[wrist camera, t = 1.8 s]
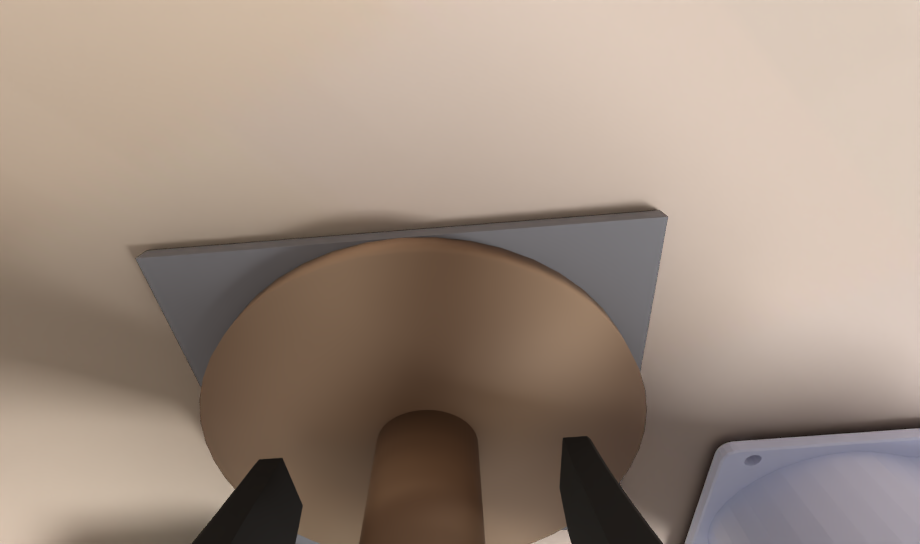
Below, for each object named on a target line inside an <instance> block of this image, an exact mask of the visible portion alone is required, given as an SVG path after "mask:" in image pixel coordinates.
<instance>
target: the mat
mask: <svg viewBox="0 0 920 544" xmlns="http://www.w3.org/2000/svg"><path fill="white" fill-rule="evenodd" d="M667 220H668V216H667V215H665V214H664V213H663V212H662V211H660V210H657V211H644V212H631V213H619V214H606V215H593V216H580V217H568V218H555V219H542V220H529V221H517V222H504V223H491V224H479V225H466V226H453V227H440V228H428V229H415V230H402V231H389V232H377V233H364V234H351V235H338V236H326V237H313V238H300V239H288V240H275V241H262V242H249V243H237V244H224V245H211V246H198V247H186V248H173V249H160V250H148V251H145V252H144V253H142V254H141V255H140V256H138V257H137V258H135V259H136V261H137V262H138V264H139V266H140V268H141V270H142V272H143V274H144V276H145V278H146V280H147V282H148V284H149V286H150V288H151V290H152V292H153V294H154V296H155V298H156V300H157V302H158V304H159V306H160V308H161V310H162V312H163V314H164V316H165V318H166V319H167V321H168V323H169V325H170V327H171V329H172V331H173V333H174V335H175V337H176V339H177V341H178V343H179V345H180V347H181V349H182V351H183V353H184V355H185V357H186V359H187V361H188V363H189V365H190V367H191V369H192V371H193V373H194V375H195V377H196V378H197V380H198V382H199V384H200V386H201V387H202V380H203V377H204V374H205V371H206V368H207V366H208V363H209V360H210V357H211V356H212V354H213V352H214V351H215V349H216V347H217V346H218V344H219V342H220V341H221V339H222V337H223V336H224V334H225V333H226V332H227V330H228V329H229V328H230V326H231V325H232V324H233V322H234V321H235V320H236V318H237V317H238V316H239V315H240V313H241V312H242V311H243V310H244V309H245V308H246V307H247V305H248V304H249V303H250V302H251V301H252V300H253V299H254V298H255V296H257V295H258V294H259V293H260V292H262V291H263V290H264V289H265V288H267V287H268V286H269V285H270V284H271V283H273V282H274V281H275V280H276V279H278V278H279V277H281V276H283V275H285V274H286V273H288V272H290V271H291V270H293V269H295V268H296V267H298V266H300V265H302V264H303V263H306V262H308V261H311V260H313V259H315V258H318V257H320V256H323V255H325V254H327V253H330V252H332V251H336V250H339V249H343V248H347V247H351V246H354V245H358V244H362V243H366V242H373V241H380V240H387V239H394V238H415V237H438V238H448V239H458V240H468V241H473V242H477V243H482V244H486V245H491V246H495V247H500V248H503V249H506V250H509V251H512V252H514V253H517V254H520V255H523V256H526V257H528V258H531V259H534V260H535V261H537V262H539V263H541V264H543V265H545V266H547V267H549V268H551V269H553V270H555V271H557V272H559V273H560V274H562V275H563V276H565V277H566V278H568V279H569V280H570V281H572V282H573V283H575V284H576V285H577V286H579V287H580V288H582V289H583V290H584V291H585V292H586V293H587V294H588V295H589V296H590V297H591V298H592V299H593V300H594V301H596V302H597V303H598V304H599V305H600V306H601V307H602V308H603V310H604V311H605V312H606V314H607V315H608V316H609V318H610V319H611V320H612V322H613V323H614V324H615V326H616V327H617V329H618V330H619V332H620V334H621V335H622V337H623V339H624V341H625V342H626V344H627V346H628V348H629V350H630V352H631V354H632V356H633V358H634V360H635V362H636V364H637V366H638V368H639V370H641V364H642V359H643V353H644V348H645V342H646V337H647V331H648V325H649V320H650V314H651V309H652V303H653V298H654V292H655V286H656V281H657V275H658V270H659V264H660V259H661V253H662V248H663V242H664V236H665V231H666V225H667ZM619 484H620V482H619ZM561 530H567V527H565V528H563V529H561ZM295 544H320V543H317V542H315V541H312V540H310V539H308V538H305V537H303V536H301V535H299V534H297V538H296V543H295Z"/></svg>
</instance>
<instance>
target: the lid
mask: <svg viewBox="0 0 920 544" xmlns="http://www.w3.org/2000/svg"><path fill="white" fill-rule="evenodd" d="M646 412H647V409H646V396H645V388H644V385H643V381H642V377H641V374H640V370H639V368H638V366H637V364H636V362H635V360H634V358H633V356H632V354H631V352H630V350H629V348H628V346H627V344H626V342H625V341H624V339H623V337H622V335H621V334H620V332H619V330H618V329H617V327H616V326H615V324H614V323H613V322H612V320H611V319H610V318H609V316H608V315H607V314H606V312H605V311H604V310H603V308H602V307H601V306H600V305H599V304H598V303H597V302H596V301H594V300H593V299H592V298H591V297H590V296H589V295H588V294H587V293H586V292H585V291H584V290H583V289H582V288H580V287H579V286H577V285H576V284H575V283H573V282H572V281H570V280H569V279H568V278H566V277H565V276H563V275H562V274H560V273H559V272H557V271H555V270H553V269H551V268H549V267H547V266H545V265H543V264H541V263H539V262H537V261H535V260H534V259H531V258H528V257H526V256H523V255H520V254H517V253H514V252H512V251H509V250H506V249H503V248H500V247H495V246H491V245H486V244H482V243H477V242H473V241H468V240H458V239H448V238H438V237H415V238H394V239H387V240H380V241H373V242H366V243H362V244H358V245H354V246H351V247H347V248H343V249H339V250H336V251H332V252H330V253H327V254H325V255H323V256H320V257H318V258H315V259H313V260H311V261H308V262H306V263H303V264H302V265H300V266H298V267H296V268H295V269H293V270H291V271H290V272H288V273H286V274H285V275H283V276H281V277H279V278H278V279H276V280H275V281H274V282H273V283H271V284H270V285H269V286H268V287H267V288H265V289H264V290H263V291H262V292H260V293H259V294H258V295H257V296H255V298H254V299H253V300H252V301H251V302H250V303H249V304H248V305H247V307H246V308H245V309H244V310H243V311H242V312H241V313H240V315H239V316H238V317H237V318H236V320H235V321H234V322H233V324H232V325H231V326H230V328H229V329H228V330H227V332H226V333H225V334H224V336H223V337H222V339H221V341H220V342H219V344H218V346H217V347H216V349H215V351H214V352H213V354H212V356H211V357H210V360H209V363H208V366H207V368H206V371H205V374H204V377H203V380H202V387H201V394H200V419H201V425H202V429H203V433H204V437H205V441H206V444H207V446H208V448H209V450H210V453H211V455H212V457H213V459H214V461H215V463H216V464H217V466H218V467H219V469H220V470H221V472H222V473H223V475H224V477H225V478H226V479H227V480H228V482H229V483H230V484H231V485H232V486H233V487H234V488H235V489H236V488H237V486H238V485H239V484H240V482H241V481H242V480H243V479H244V477H245V476H246V475H247V474H248V472H249V471H250V470H251V468H252V467H253V466H254V465H255V463H256V462H257V461H258V460H259V459H271V458H283V460H284V462H285V465H286V467H287V469H288V472H289V474H290V476H291V479H292V481H293V483H294V486H295V488H296V491H297V493H298V495H299V498H300V500H301V502H302V505H303V508H302V513H301V518H300V524H299V529H298V534H299V535H301V536H303V537H305V538H308V539H310V540H312V541H315V542H317V543H320V544H530V543H533V542H536V541H538V540H540V539H543V538H545V537H547V536H550V535H552V534H554V533H556V532H558V531H559V530H561V529H563V528H565V527H567V524H566V519H565V514H564V509H563V504H562V499H561V494H560V488H559V485H560V470H561V456H562V441H563V438H564V437H578V436H588V437H589V438H590V439H591V440H592V442H593V444H594V446H595V447H596V449H597V451H598V452H599V454H600V455H601V457H602V459H603V460H604V462H605V463H606V465H607V467H608V468H609V470H610V471H611V473H612V474H613V476H614V477H615V479H616V480H617V482H618V483H619V482H620V481H621V479H622V478H623V477H624V475H625V474H626V472H627V471H628V469H629V468H630V466H631V464H632V462H633V460H634V458H635V456H636V454H637V452H638V450H639V447H640V444H641V440H642V437H643V434H644V430H645V421H646Z"/></svg>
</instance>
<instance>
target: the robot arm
mask: <svg viewBox="0 0 920 544" xmlns="http://www.w3.org/2000/svg"><path fill="white" fill-rule="evenodd" d="M559 488H560V494H561V499H562V504H563V509H564V514H565V519H566V524H567V529H568V533H569V536H570V540H571V543H572V544H663V543H662V542H661V540H660V539H659V538H658V536H657V535H656V534H655V533H654V531H653V530H652V529H651V527H650V526H649V525H648V523H647V522H646V521H645V519H644V518H643V517H642V515H641V514H640V513H639V511H638V510H637V508H636V507H635V506H634V504H633V503H632V502H631V500H630V499H629V497H628V496H627V495H626V493H625V492H624V490H623V489H622V487H621V486H620V484H619V483H618V482H617V480H616V479H615V477H614V476H613V474H612V473H611V471H610V470H609V468H608V467H607V465H606V463H605V462H604V460H603V459H602V457H601V455H600V454H599V452H598V451H597V449H596V447H595V446H594V444H593V442H592V440H591V439H590V438H589V437H588V436H578V437H564V438H563V441H562V456H561V470H560V485H559ZM302 508H303V505H302V502H301V500H300V498H299V495H298V493H297V491H296V488H295V486H294V483H293V481H292V479H291V476H290V474H289V472H288V469H287V467H286V465H285V462H284V460H283V458H271V459H259V460H258V461H257V462H256V463H255V465H254V466H253V467H252V468H251V470H250V471H249V472H248V474H247V475H246V476H245V477H244V479H243V480H242V481H241V482H240V484H239V485H238V486H237V488H236V489H235V490H234V491H233V493H232V494H231V495H230V497H229V498H228V499H227V500H226V502H225V503H224V504H223V506H222V507H221V508H220V509H219V511H218V512H217V513H216V514H215V516H214V517H213V518H212V519H211V521H210V522H209V523H208V524H207V526H206V527H205V528H204V529H203V530H202V532H201V533H200V534H199V535H198V537H197V538H196V539H195V540H194V542H193V543H192V544H295V543H296V538H297V534H298V529H299V524H300V518H301V513H302ZM685 544H920V428H914V429H900V430H886V431H872V432H858V433H844V434H829V435H815V436H801V437H787V438H773V439H759V440H745V441H732V442H727V443H725V444H723V445H721V446H720V447H719V448H718V449H717V450H716V452H715V455H714V458H713V461H712V464H711V467H710V469H709V472H708V475H707V478H706V481H705V484H704V487H703V490H702V493H701V496H700V499H699V502H698V505H697V508H696V511H695V514H694V517H693V520H692V523H691V526H690V529H689V532H688V535H687V538H686V541H685Z"/></svg>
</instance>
